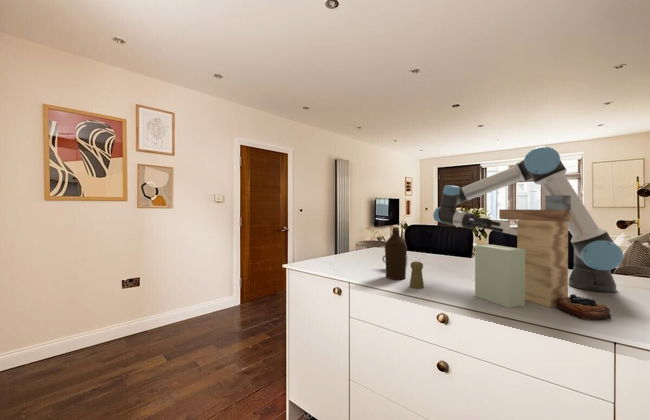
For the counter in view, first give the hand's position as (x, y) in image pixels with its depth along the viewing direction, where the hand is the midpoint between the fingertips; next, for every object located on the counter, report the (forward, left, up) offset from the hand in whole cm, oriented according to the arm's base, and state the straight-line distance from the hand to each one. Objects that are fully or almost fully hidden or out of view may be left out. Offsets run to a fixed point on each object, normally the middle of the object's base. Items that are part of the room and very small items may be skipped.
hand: (514, 229), depth 120 cm
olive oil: (+37, -33, -26) cm, 56 cm away
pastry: (+5, +27, -26) cm, 38 cm away
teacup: (+27, -50, -26) cm, 62 cm away
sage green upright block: (+19, +9, -25) cm, 33 cm away
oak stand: (+4, +14, -25) cm, 29 cm away
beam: (+4, +10, +5) cm, 12 cm away
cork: (+37, -16, -26) cm, 48 cm away
